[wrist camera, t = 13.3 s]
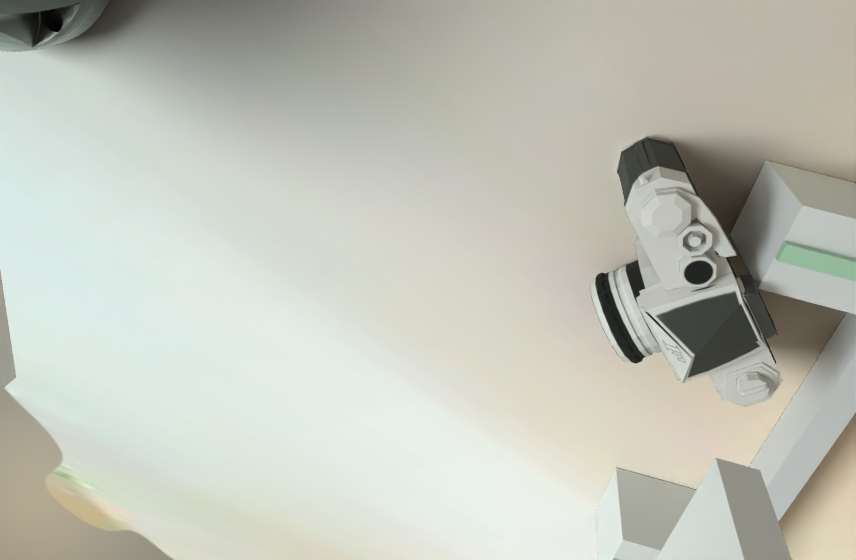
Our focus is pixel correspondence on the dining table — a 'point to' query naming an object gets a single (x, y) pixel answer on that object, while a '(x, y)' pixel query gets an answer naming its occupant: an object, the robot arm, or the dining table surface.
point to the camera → (684, 284)
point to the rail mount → (823, 386)
